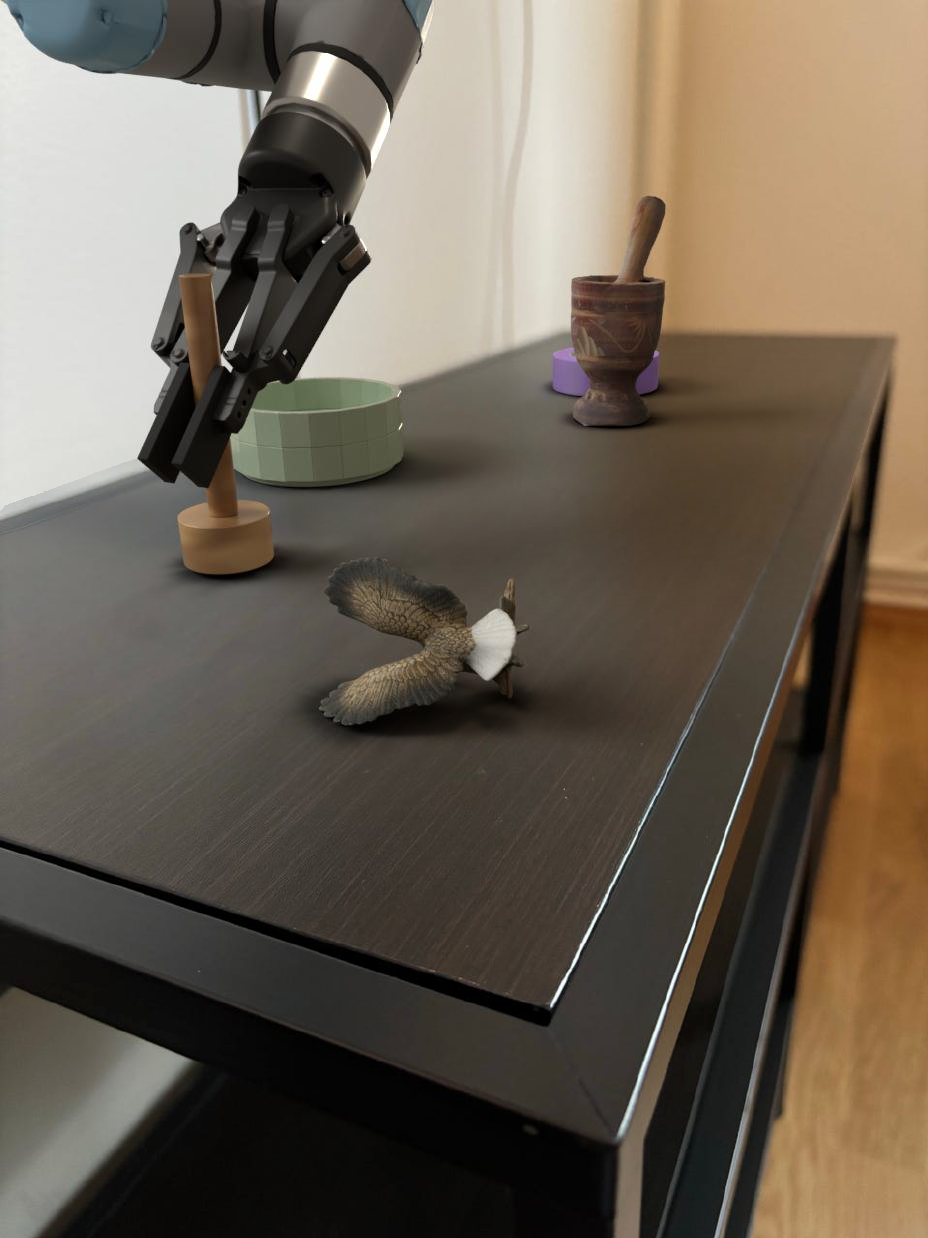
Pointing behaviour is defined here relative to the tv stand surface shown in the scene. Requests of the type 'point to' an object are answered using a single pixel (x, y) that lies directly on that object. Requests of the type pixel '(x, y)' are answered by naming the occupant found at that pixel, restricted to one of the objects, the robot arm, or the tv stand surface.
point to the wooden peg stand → (223, 525)
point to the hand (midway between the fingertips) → (173, 472)
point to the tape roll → (576, 381)
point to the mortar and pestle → (619, 327)
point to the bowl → (320, 432)
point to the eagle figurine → (427, 619)
